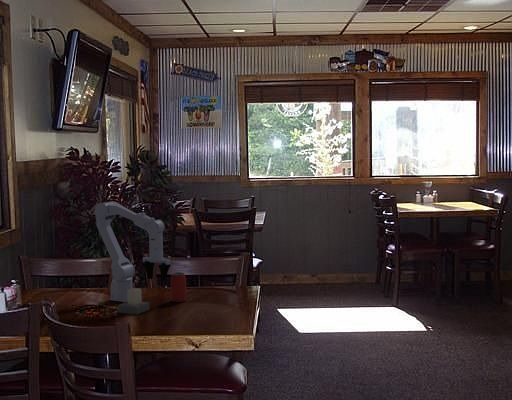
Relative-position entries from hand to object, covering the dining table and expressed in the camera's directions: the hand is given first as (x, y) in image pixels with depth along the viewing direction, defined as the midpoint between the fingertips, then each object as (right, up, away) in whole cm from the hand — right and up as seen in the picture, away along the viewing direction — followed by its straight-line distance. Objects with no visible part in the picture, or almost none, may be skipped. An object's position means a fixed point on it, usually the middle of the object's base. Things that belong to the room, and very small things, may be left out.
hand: (156, 279), depth 293 cm
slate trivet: (-7, -11, -15) cm, 20 cm away
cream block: (-7, -8, -15) cm, 18 cm away
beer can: (+9, -10, +3) cm, 14 cm away
